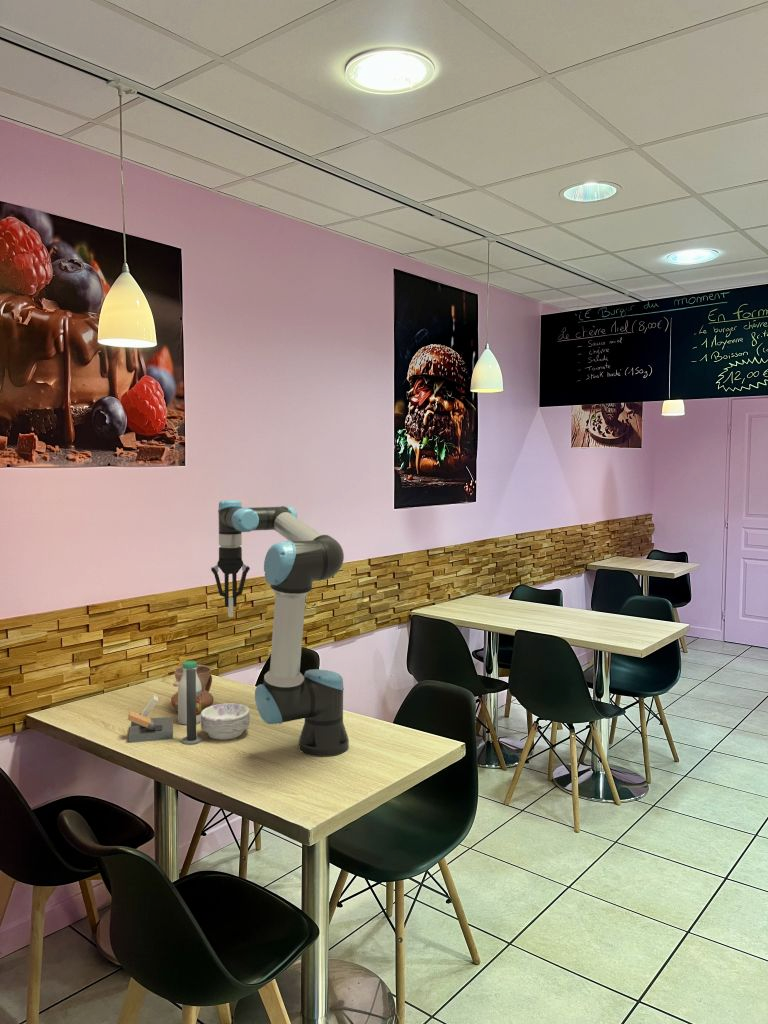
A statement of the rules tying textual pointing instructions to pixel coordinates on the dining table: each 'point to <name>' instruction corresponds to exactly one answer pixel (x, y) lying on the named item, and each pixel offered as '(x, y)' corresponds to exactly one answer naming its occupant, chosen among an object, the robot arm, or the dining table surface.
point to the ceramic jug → (205, 681)
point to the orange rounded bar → (141, 720)
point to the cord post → (191, 709)
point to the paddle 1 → (149, 706)
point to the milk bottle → (183, 695)
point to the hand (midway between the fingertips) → (230, 616)
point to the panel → (160, 731)
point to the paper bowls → (225, 720)
